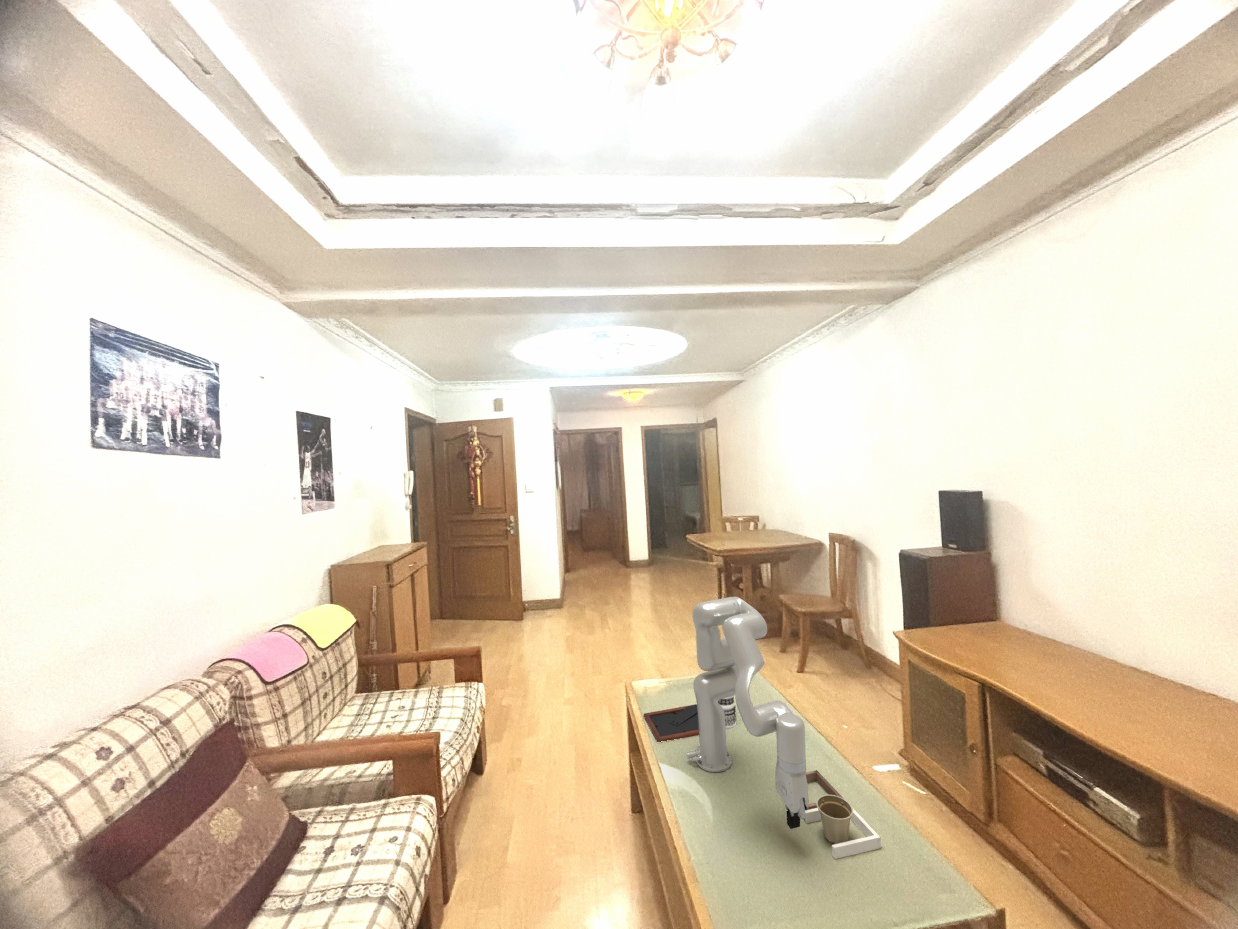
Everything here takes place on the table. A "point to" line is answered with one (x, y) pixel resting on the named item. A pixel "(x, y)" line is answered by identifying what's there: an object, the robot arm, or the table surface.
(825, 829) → the flower pot
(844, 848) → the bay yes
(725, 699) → the decorative candle
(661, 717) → the picture frame
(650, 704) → the table surface
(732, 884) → the table surface
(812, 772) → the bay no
